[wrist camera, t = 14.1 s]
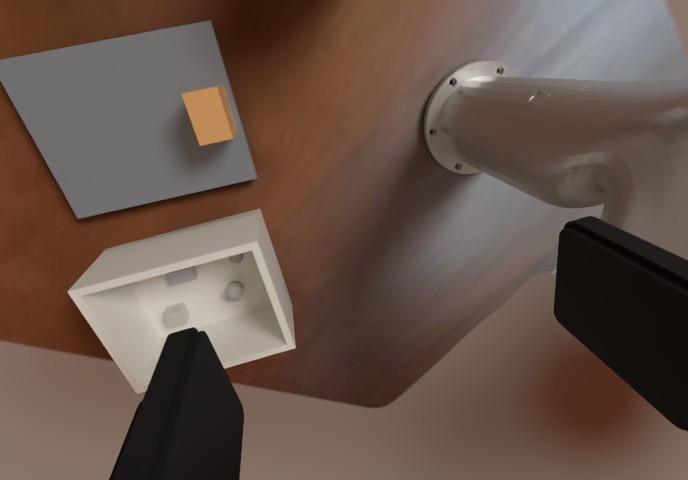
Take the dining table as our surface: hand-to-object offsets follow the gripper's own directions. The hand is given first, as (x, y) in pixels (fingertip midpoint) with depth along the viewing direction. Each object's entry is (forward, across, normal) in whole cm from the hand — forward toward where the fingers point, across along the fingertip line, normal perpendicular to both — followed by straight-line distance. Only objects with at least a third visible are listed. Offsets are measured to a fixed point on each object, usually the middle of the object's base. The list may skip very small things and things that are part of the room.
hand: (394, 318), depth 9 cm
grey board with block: (+35, +15, -4) cm, 38 cm away
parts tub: (+34, +16, +15) cm, 41 cm away
